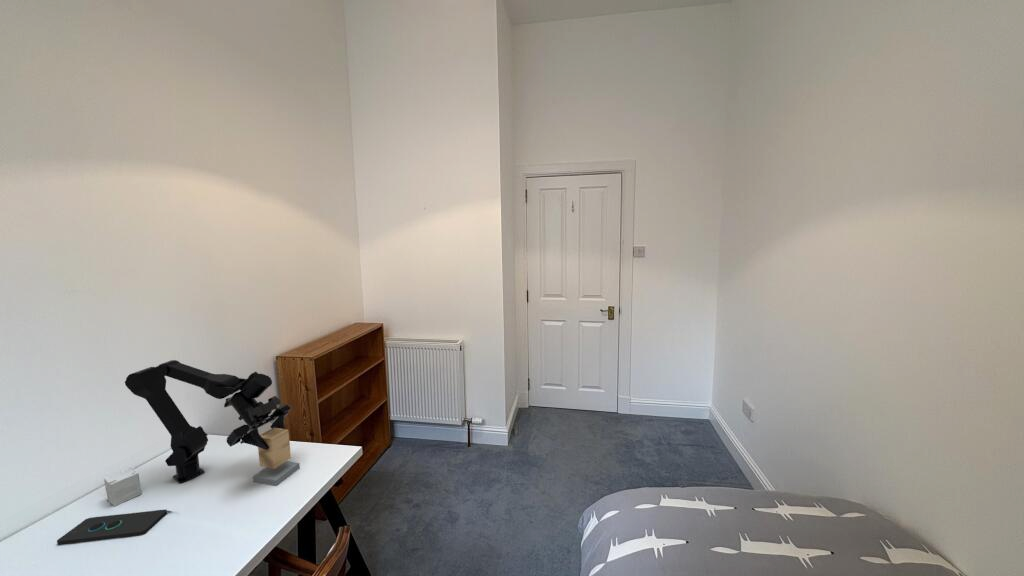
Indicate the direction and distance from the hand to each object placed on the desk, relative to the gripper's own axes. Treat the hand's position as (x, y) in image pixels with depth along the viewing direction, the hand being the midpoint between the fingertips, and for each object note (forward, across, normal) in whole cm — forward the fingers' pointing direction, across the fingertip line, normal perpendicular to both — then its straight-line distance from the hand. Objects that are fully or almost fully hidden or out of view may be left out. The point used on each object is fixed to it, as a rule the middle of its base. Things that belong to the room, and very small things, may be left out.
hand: (277, 443), depth 113 cm
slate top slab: (+7, 0, +9) cm, 11 cm away
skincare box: (-19, -19, +37) cm, 45 cm away
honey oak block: (+4, 0, +6) cm, 7 cm away
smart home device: (-9, -27, +28) cm, 40 cm away
